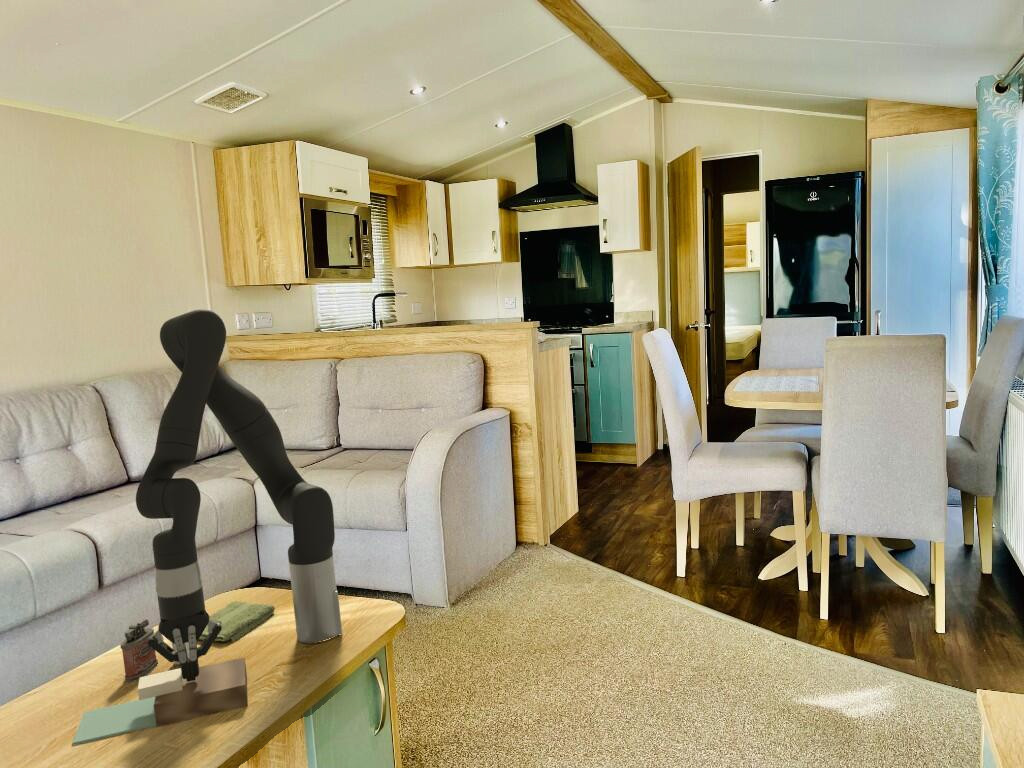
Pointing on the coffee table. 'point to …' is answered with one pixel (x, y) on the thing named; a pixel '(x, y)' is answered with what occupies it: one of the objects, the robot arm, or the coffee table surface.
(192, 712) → the wooden block
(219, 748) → the coffee table surface
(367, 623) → the coffee table surface
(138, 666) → the lighter
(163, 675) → the tile
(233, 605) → the washcloth
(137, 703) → the mat
